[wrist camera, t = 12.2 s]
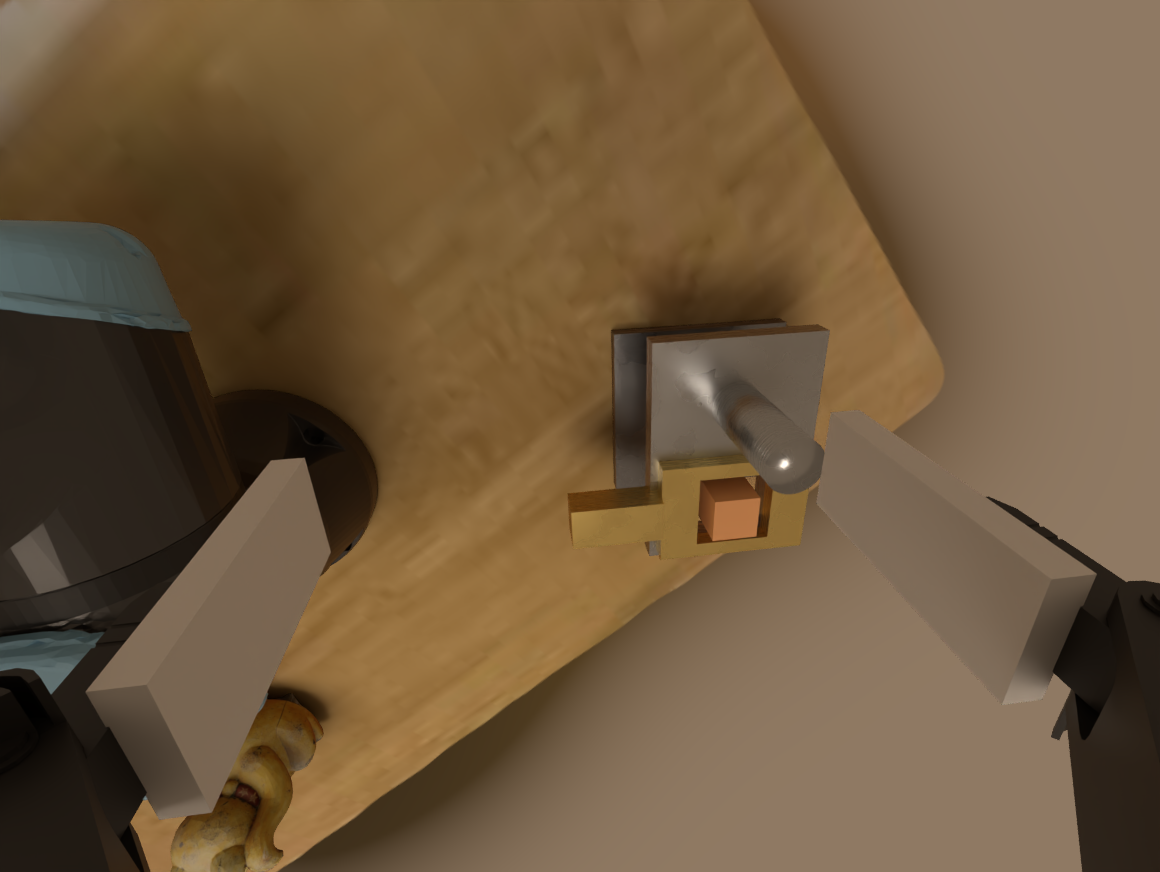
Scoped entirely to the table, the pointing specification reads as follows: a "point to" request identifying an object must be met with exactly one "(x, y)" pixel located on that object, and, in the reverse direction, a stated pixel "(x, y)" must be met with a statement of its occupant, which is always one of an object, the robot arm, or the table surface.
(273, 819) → the decorative figurine
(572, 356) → the table surface
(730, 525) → the wedge pin
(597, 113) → the table surface
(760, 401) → the grey and yellow stand
